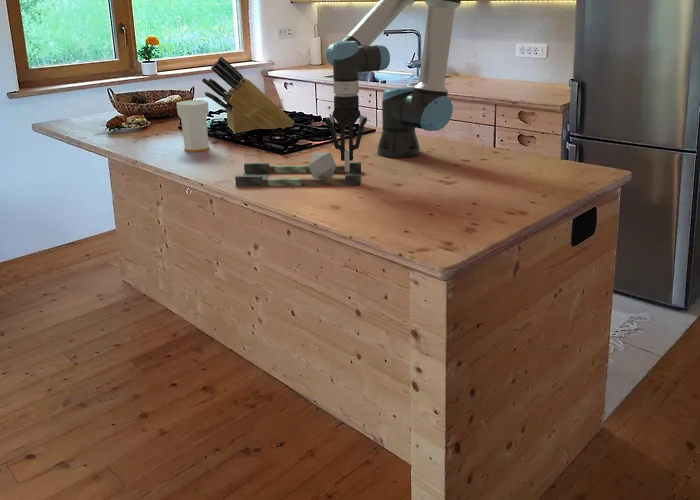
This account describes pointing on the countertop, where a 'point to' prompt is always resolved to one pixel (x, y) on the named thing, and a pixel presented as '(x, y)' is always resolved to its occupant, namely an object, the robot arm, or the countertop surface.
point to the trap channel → (260, 171)
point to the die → (322, 165)
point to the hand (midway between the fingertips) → (347, 170)
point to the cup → (194, 124)
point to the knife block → (245, 102)
